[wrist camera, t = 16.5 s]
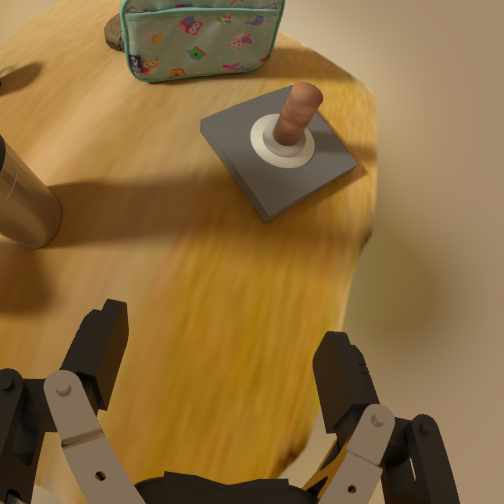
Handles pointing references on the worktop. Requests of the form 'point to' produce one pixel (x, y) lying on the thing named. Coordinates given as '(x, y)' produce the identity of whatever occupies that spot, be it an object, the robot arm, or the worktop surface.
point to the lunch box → (197, 36)
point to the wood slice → (113, 33)
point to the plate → (268, 164)
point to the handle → (293, 121)
